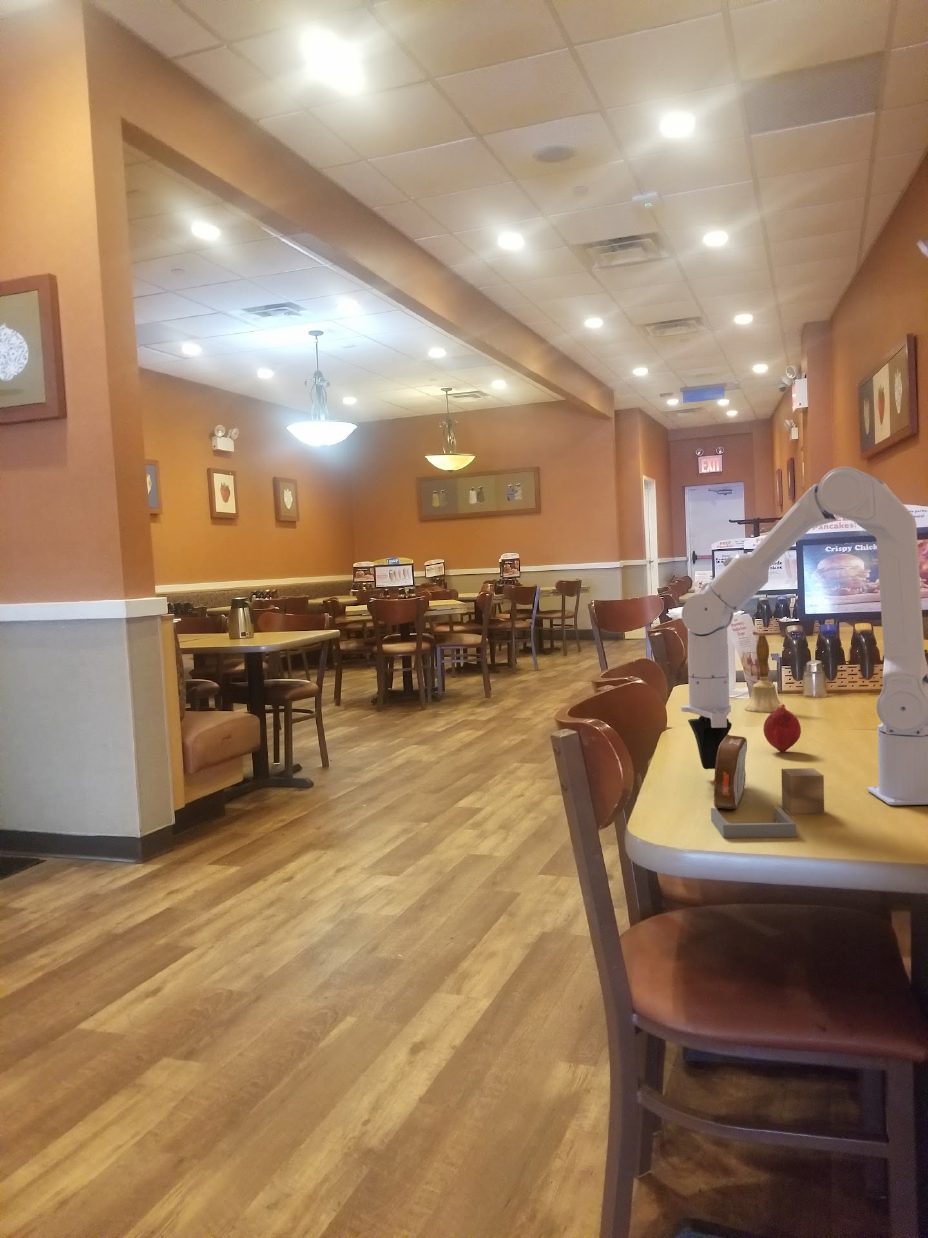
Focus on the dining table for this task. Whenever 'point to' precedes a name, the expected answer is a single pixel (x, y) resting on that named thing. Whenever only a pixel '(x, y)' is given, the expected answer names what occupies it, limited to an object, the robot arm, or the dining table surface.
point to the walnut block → (803, 791)
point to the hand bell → (763, 683)
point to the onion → (782, 729)
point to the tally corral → (755, 826)
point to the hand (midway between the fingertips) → (710, 768)
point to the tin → (730, 772)
